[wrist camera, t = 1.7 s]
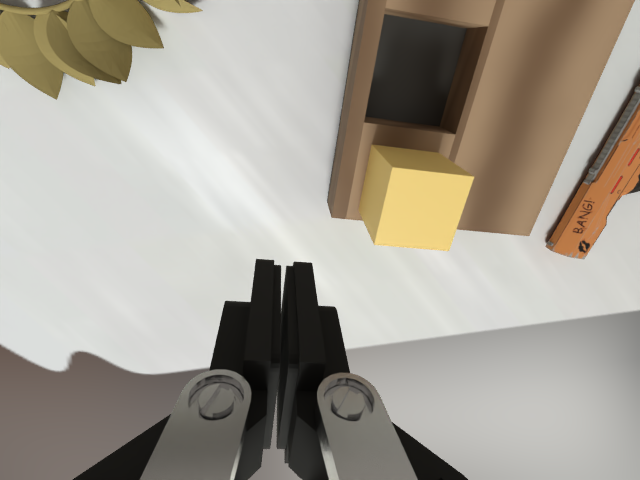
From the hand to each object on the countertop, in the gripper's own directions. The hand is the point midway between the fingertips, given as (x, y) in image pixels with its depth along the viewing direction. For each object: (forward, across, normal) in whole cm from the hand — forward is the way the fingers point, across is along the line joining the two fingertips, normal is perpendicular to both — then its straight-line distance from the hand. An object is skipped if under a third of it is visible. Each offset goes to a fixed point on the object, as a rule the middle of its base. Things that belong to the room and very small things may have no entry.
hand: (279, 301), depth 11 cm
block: (+14, -8, 0) cm, 16 cm away
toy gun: (+17, -28, -2) cm, 33 cm away
